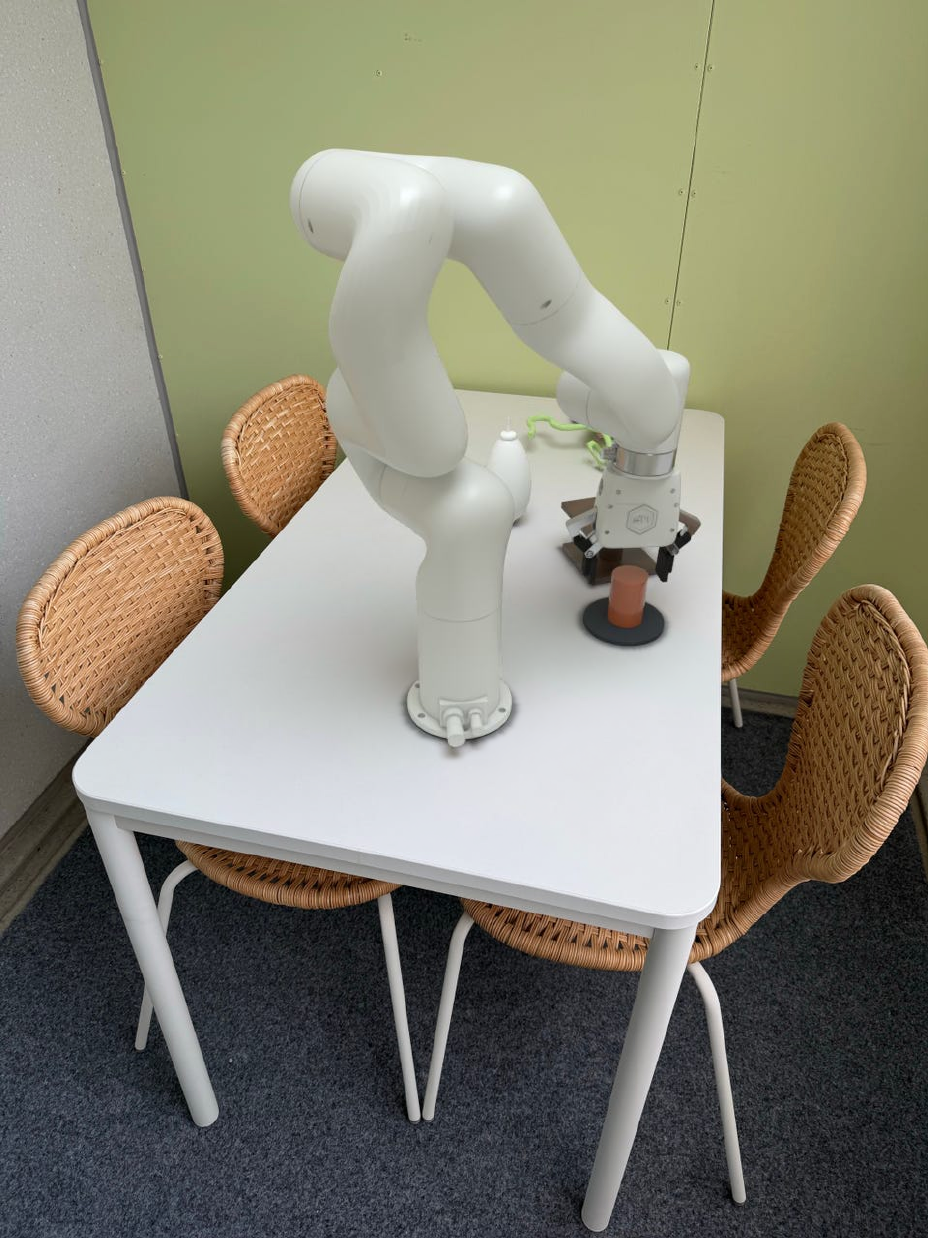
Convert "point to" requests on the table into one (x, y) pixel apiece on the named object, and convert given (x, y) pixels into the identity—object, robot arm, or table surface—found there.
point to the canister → (627, 596)
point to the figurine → (569, 428)
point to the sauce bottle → (512, 468)
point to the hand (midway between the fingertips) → (625, 577)
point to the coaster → (616, 635)
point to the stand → (604, 548)
